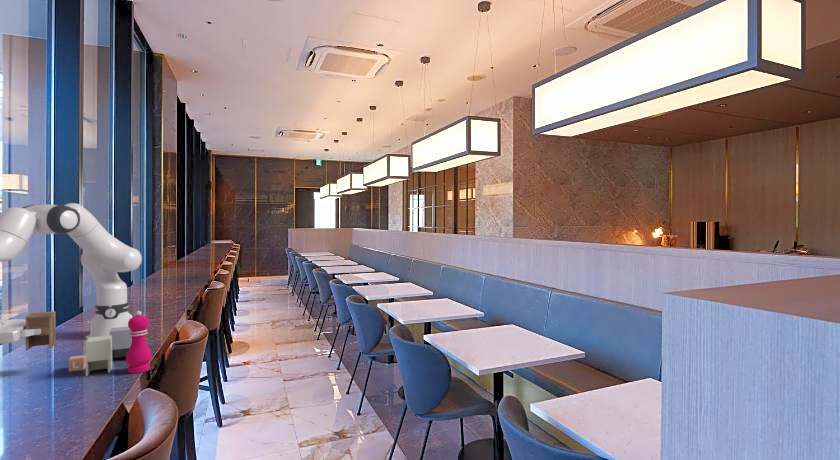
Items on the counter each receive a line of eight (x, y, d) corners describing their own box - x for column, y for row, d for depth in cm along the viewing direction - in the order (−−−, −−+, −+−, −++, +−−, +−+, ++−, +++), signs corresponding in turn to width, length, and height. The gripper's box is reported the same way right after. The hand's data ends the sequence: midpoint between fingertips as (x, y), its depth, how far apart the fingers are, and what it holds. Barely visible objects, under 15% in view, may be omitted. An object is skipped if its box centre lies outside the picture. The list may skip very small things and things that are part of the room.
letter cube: (71, 368, 153) (71, 356, 153) (85, 366, 155) (85, 355, 155) (68, 371, 150) (68, 359, 150) (83, 370, 152) (83, 358, 152)
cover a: (31, 346, 150) (31, 312, 150) (55, 343, 153) (55, 311, 153) (25, 350, 144) (25, 316, 144) (51, 348, 147) (51, 314, 147)
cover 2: (112, 357, 165) (111, 327, 165) (132, 355, 168) (132, 326, 168) (109, 362, 159) (109, 331, 159) (131, 360, 162) (130, 329, 162)
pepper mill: (133, 367, 154) (133, 309, 154) (155, 366, 155) (155, 308, 154) (121, 374, 147) (120, 313, 146) (144, 373, 147) (144, 312, 147)
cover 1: (89, 370, 151) (88, 337, 151) (112, 367, 154) (111, 335, 154) (85, 376, 145) (85, 342, 145) (109, 372, 148) (109, 339, 148)
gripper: (-25, 330, 133) (35, 325, 140) (-1, 317, 151) (51, 313, 158) (-25, 351, 133) (35, 345, 140) (-1, 336, 151) (52, 331, 158)
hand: (44, 328), depth 149 cm, fingers closed on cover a, 6 cm apart
